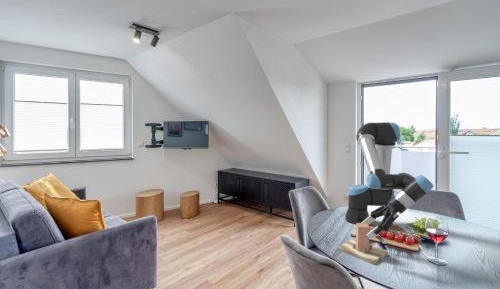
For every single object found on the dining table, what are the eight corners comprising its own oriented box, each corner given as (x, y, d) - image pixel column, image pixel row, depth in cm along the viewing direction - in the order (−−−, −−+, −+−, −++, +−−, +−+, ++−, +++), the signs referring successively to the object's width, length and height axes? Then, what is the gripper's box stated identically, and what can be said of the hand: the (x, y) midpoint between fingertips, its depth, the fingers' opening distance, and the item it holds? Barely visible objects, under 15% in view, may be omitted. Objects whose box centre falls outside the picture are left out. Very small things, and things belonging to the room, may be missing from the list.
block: (355, 246, 126) (356, 222, 125) (366, 247, 125) (367, 223, 124) (357, 250, 121) (358, 226, 120) (369, 251, 120) (369, 227, 119)
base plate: (352, 241, 134) (353, 235, 134) (387, 254, 120) (388, 247, 120) (337, 249, 126) (337, 242, 126) (373, 264, 112) (373, 256, 111)
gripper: (418, 217, 104) (378, 249, 109) (397, 200, 129) (365, 226, 133) (404, 204, 105) (365, 236, 110) (386, 190, 129) (355, 216, 134)
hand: (365, 231), depth 121 cm, fingers open, 13 cm apart
